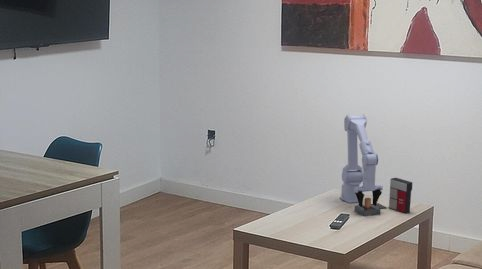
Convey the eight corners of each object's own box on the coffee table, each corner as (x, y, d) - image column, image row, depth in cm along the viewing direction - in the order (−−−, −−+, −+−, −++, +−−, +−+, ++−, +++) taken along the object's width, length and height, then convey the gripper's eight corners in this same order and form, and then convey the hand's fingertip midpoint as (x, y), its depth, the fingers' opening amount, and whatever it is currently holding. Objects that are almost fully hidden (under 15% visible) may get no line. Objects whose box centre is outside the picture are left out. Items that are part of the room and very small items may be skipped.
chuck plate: (354, 210, 375) (354, 205, 374) (370, 209, 378) (370, 204, 377) (363, 216, 366) (364, 211, 366) (380, 214, 370) (380, 209, 369)
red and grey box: (387, 208, 380) (389, 178, 377) (393, 206, 382) (395, 177, 379) (404, 213, 371) (406, 183, 368) (410, 212, 374) (412, 182, 371)
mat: (365, 205, 384) (365, 204, 383) (378, 204, 386) (378, 203, 386) (373, 209, 377) (373, 208, 377) (386, 208, 379) (386, 207, 379)
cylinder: (362, 212, 373) (363, 198, 371) (368, 211, 374) (368, 197, 373) (366, 213, 370) (366, 199, 369) (371, 213, 371) (372, 199, 370)
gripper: (359, 181, 362) (358, 209, 365) (386, 179, 368) (385, 206, 370) (352, 177, 369) (351, 205, 372) (378, 175, 374) (377, 202, 377)
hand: (367, 205), depth 371 cm, fingers open, 7 cm apart
